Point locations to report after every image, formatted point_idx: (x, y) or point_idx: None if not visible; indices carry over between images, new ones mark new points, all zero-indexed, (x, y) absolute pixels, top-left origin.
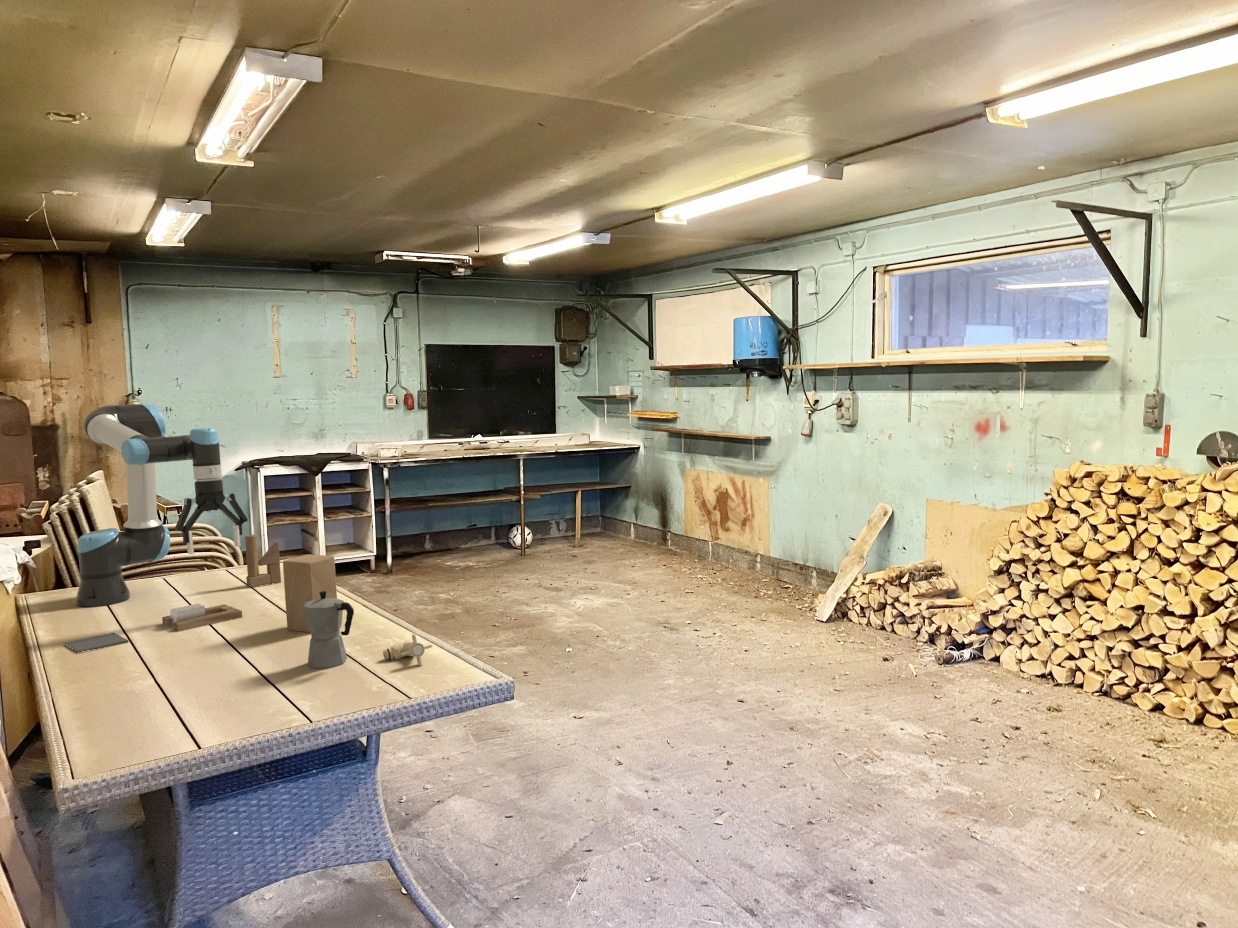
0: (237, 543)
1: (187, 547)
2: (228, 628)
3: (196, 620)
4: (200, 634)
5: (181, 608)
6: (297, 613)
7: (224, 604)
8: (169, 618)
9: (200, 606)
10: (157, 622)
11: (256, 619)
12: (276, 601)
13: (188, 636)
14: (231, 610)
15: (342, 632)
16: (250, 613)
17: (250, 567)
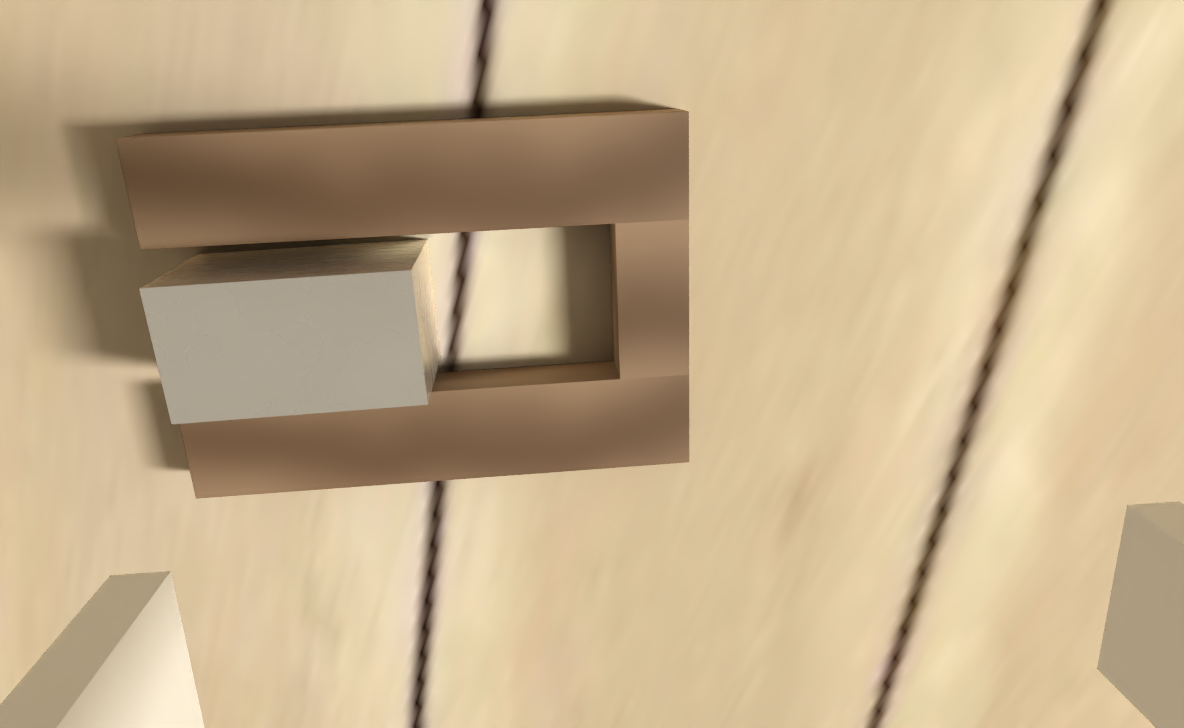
0: (1146, 700)
1: (37, 686)
2: (499, 643)
3: (335, 485)
4: (317, 650)
5: (236, 340)
6: None
7: (685, 122)
8: (166, 246)
9: (392, 400)
10: (109, 37)
11: (716, 568)
12: (1089, 158)
13: (243, 641)
14: (638, 392)
15: None
16: (767, 379)
17: None
